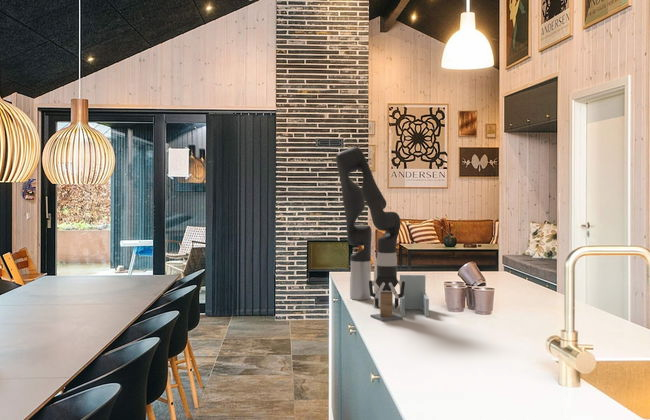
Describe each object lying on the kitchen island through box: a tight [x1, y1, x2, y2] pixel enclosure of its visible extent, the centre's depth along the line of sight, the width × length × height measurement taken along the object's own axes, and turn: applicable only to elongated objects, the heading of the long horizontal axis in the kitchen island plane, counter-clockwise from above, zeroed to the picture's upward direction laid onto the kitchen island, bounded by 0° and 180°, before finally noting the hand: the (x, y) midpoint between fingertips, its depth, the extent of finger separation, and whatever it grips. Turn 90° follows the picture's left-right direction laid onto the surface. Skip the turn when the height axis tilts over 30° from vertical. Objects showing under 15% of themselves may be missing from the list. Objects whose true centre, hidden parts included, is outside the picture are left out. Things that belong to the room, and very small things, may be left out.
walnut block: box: [379, 291, 394, 317], centre depth 216 cm, size 4×4×9 cm
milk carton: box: [373, 260, 393, 308], centre depth 240 cm, size 7×7×19 cm
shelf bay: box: [399, 274, 430, 318], centre depth 227 cm, size 16×10×14 cm, turn 175°
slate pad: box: [370, 313, 404, 322], centre depth 216 cm, size 9×9×1 cm
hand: (386, 307), depth 216 cm, fingers open, 6 cm apart
